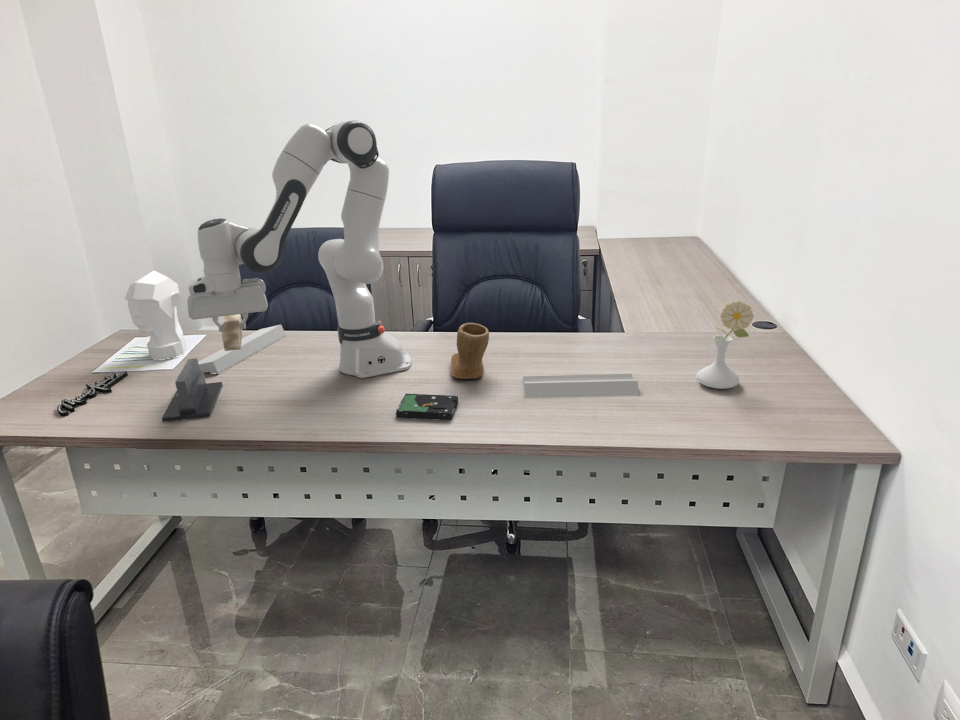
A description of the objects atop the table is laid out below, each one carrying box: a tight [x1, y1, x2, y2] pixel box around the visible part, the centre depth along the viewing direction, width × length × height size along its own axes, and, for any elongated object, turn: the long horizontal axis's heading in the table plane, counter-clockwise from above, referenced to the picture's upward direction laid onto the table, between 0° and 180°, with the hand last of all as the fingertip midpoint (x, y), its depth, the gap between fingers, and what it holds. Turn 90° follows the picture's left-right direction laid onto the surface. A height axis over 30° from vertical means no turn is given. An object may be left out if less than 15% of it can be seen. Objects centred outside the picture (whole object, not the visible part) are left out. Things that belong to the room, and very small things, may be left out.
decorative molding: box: [198, 324, 287, 375], centre depth 211 cm, size 34×5×10 cm
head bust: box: [124, 270, 187, 361], centre depth 205 cm, size 16×19×28 cm
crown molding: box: [522, 373, 640, 399], centre depth 178 cm, size 31×12×4 cm, turn 89°
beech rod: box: [221, 314, 243, 351], centre depth 174 cm, size 4×22×4 cm, turn 18°
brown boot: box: [450, 322, 490, 380], centre depth 188 cm, size 15×12×15 cm
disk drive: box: [395, 393, 459, 421], centre depth 168 cm, size 10×3×15 cm
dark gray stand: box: [161, 357, 224, 423], centre depth 175 cm, size 12×20×10 cm, turn 12°
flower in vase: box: [695, 300, 755, 390], centre depth 172 cm, size 13×11×25 cm
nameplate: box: [56, 370, 129, 418], centre depth 184 cm, size 28×2×10 cm
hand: (232, 329), depth 174 cm, fingers closed on beech rod, 4 cm apart
